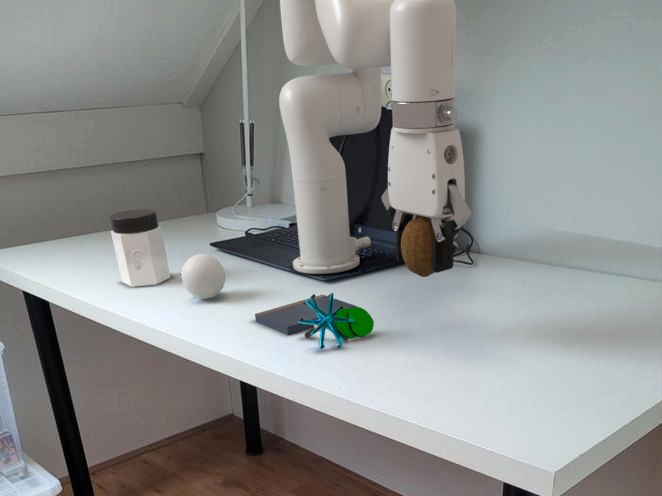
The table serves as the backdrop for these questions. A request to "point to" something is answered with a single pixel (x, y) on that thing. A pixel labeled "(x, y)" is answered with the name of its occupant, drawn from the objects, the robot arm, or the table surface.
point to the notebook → (296, 314)
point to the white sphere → (203, 276)
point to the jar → (139, 247)
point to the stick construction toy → (339, 322)
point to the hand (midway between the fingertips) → (424, 263)
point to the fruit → (418, 246)
